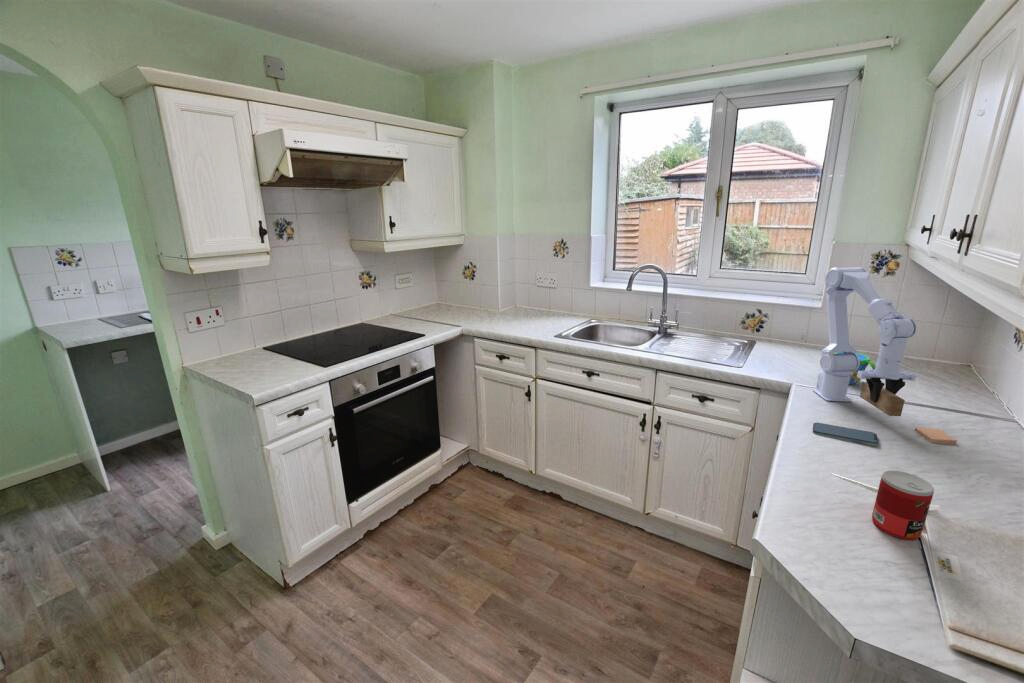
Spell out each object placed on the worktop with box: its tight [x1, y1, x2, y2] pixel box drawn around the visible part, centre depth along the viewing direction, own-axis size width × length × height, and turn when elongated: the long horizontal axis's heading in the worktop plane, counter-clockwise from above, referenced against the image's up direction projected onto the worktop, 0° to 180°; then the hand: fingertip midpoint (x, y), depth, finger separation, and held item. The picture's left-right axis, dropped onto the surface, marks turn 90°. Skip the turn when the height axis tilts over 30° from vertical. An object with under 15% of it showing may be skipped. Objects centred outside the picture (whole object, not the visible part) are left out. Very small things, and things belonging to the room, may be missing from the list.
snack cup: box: [834, 352, 876, 385], centre depth 168 cm, size 16×10×10 cm
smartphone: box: [812, 422, 879, 447], centre depth 130 cm, size 8×2×15 cm
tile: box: [913, 427, 958, 445], centre depth 128 cm, size 2×6×7 cm
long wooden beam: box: [859, 381, 905, 417], centre depth 136 cm, size 14×3×5 cm, turn 173°
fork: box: [830, 473, 941, 512], centre depth 104 cm, size 3×20×2 cm, turn 38°
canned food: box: [871, 470, 935, 541], centre depth 91 cm, size 8×8×11 cm
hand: (880, 401), depth 136 cm, fingers closed on long wooden beam, 3 cm apart
